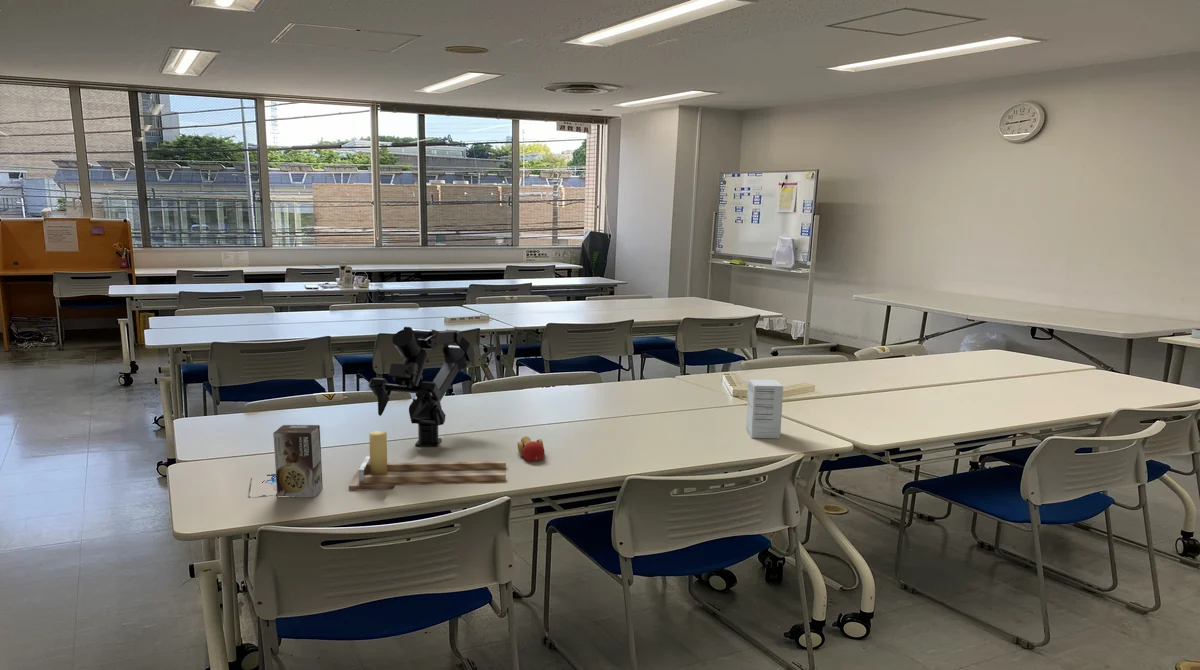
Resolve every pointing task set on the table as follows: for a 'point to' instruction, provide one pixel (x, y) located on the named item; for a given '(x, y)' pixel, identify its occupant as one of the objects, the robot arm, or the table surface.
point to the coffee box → (298, 460)
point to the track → (434, 474)
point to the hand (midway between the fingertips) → (395, 416)
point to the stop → (364, 469)
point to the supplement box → (764, 408)
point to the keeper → (378, 453)
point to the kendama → (531, 449)
